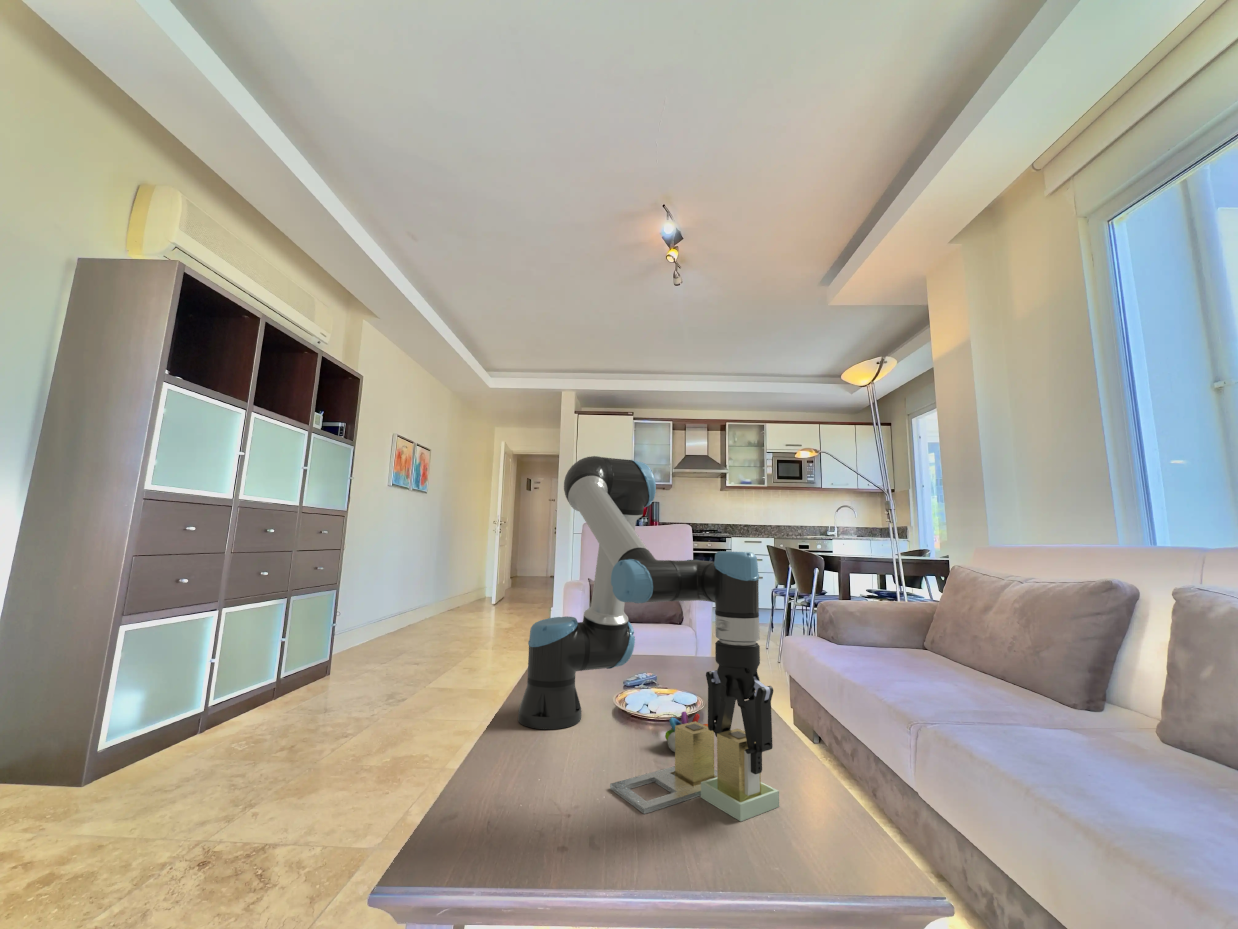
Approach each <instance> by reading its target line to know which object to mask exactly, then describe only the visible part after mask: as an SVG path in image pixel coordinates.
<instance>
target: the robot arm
mask: <svg viewBox="0 0 1238 929" xmlns="http://www.w3.org/2000/svg"><path fill="white" fill-rule="evenodd" d="M656 484H657V483H656V478H655V475H654V473H653V472H652V469H651V468H650V466H649V465H648V464H646V463H645V462H642V461H638V460H633V459H626V458H612V457H604V456H598V455H597V456H595V455H593V456H586V457H583V458H581V459H579V460H577V461H576V462H574V464H572V465H571V466H570V468H569V469H568V470H567V473H566V475H565V477H564V481H563V491H564V492H563V493H564V495H565V496H564V497H565V498H566V500H567V502H568V503H569V505H570V507H571V508H572V509H573V510H575V511H576V512H579V513H580V515H581V516H582V518H583V520H584V522H585V524H587V526H588V527H589V529H590V531H591V533H592V534H593V536H594V537H595V539H596V541H597V543H598V552H597V558H596V566H595V572H594V573H595V575H594V580H593V589H592V597H591V602H590V603H591V604H590V606H589V607H588V608H587V609H586V610H585V611H584V612H583V620H582V621H581V622H579V621H578V620H577V618H576V617H575V616H554V617H549V618H545V619H540V620H538V621H536V622H535V623H533V624H532V626H531V627H530V631H529V639H528V642H527V644H528V645H527V646H528V659H527V660H528V663H527V681H526V688H525V691H524V695H523V697H522V700H521V702H520V705H519V708H518V715H517V717H518V718H517V719H518V723H519V724H520V725H522V726H524V727H528V728H530V729H531V728H532V729H536V730H556V729H557V730H558V729H559V730H560V729H564V728H570V727H572V726H575V725H577V724H578V723H580V722H581V721H582V706H581V702H580V699H579V696H578V692H577V687H576V672H583V671H593V670H602V669H607V670H608V669H614V668H618V667H622V666H624V665H625V664H626V663H628V661H629V660H630V659H631V658H632V656H633V652H634V649H635V643H636V642H635V641H636V639H635V637H636V636H635V635H634V634H635V630H634V627H633V625H632V624H631V622H630V621H629V617H628V615H627V614H626V612H625V604H626V603H634V604H644V603H646V604H647V603H660V602H661V603H663V602H664V603H665V602H687V601H689V602H690V601H691V602H692V601H693V602H694V601H700V602H701V601H703V602H710V603H714V605H715V609H714V614H715V621H714V622H715V625H714V626H715V638H716V639H717V641H716V642H715V650H714V651H715V662H716V663H717V665H718V666H717V670H711V671H706V673H705V678H706V682H707V724H708V729H709V730H710V731H713V732H714V736H715V737H716V738H717V733H721V732H725V731H729V730H732V723H733V719H734V718H733V717H734V713H735V708H736V707H735V706H736V704H737V706H738V707H739V708H740V711H741V718H742V723H743V729H744V731H745V735H746V740H747V745H748V749H745V751H744V774H745V794H746V795H748V796H749V795H752V794H755V793H758V792H760V774H759V773H762V771H763V752H767V751H771V750H772V749H773V724H772V723H773V722H772V721H773V720H772V699H773V695H774V688H773V686H772V685H765V684H764V683H762V682H761V680H760V677H759V674H758V668H759V666H760V664H761V653H760V652H761V648H760V647H761V646H760V644H759V643H758V642H759V640H760V637H761V636H760V613H759V611H760V607H759V606H760V605H759V604H760V602H759V599H760V598H759V582H760V581H759V579H760V574H759V568H758V567H759V566H758V557H757V555H756V554H755V553H754V552H751V551H732V550H730V551H727V550H726V551H725V550H724V551H723V550H722V551H721V550H720V551H717V552H715V554H714V561H709V560H700V559H687V560H669V559H667V560H666V559H665V560H663V559H661V560H660V559H656V558H655V557H654V555H653V554H652V553H651V551H650V550H649V549H648V547H647V546H646V545H645V543H644V542H643V540H642V539H641V537H640V536H639V535H638V534H637V532H636V526H637V525H636V524H637V521H638V520H639V519H640V518H641V517H643V515H644V509H645V508H647V507H649V506H650V505H652V503H653V501H654V500H655V497H656V493H657V492H656V490H657V488H656V487H657V486H656ZM755 742H756V743H755Z"/></svg>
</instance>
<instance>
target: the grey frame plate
mask: <svg viewBox="0 0 1238 929" xmlns="http://www.w3.org/2000/svg"><path fill="white" fill-rule="evenodd" d="M716 777H717V770H716V769H715V768H714V778H716ZM651 783H652V784H653V783H655V784H656V785H658V786H659V787H661V788H662V789H664V790H666V791H668V792H669V793H668V794H665V795H662V796H658V797H654V798H652V799H648V800H646V799H644V798H643V797H642V796H640V795H639V794H637V793H636V792H635V791H633V790H632V789H635V788H639V787H641V786H644V785H649V784H651ZM609 790H611V791H612V792H614V793H615V794H616V795H618V796H619V797H621V798H622V799H623V800H625V801H626V802H627V803H629V804H630V806H632V807H634V808H635V809H637V810H638V811H639V812H640V813H642V814H643V815H647V814H649V813H653V812H655V811H658V810H662V809H665V808H667V807H671V806H674V805H676V804H680V803H683V802H685V801H686V802H687V801H689V800H692V799H694V798H698V797H701V784H700V785H697V786H691V785H690V784H688V783H686V782H684V781H683V780H681V779H679V778H678V777H676V776H675V765H674V766H669V767H666V768H663V769H660V770H659V769H658V770H655V771H652V772H648V773H645V774H644V773H643V774H641V775H637V776H634V777H631V778H625V779H623V780H619V781H616V782H612V783H610V784H609Z"/></svg>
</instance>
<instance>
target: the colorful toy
mask: <svg viewBox="0 0 1238 929" xmlns="http://www.w3.org/2000/svg"><path fill="white" fill-rule="evenodd" d="M700 717H701V716H700V714H699V713H695V714H694V716H693V718H692V720H691V722H695V721H696V722H698V723H699V719H700ZM680 718H681V722H680V721H679V719H677V718H676V717H670V718H669V725H670V726H671V728H670V730H667V731H666V732H665V735H664V737H665V739H666V740H667V746H668V748H669V749H670V751H671V752H673V753H675V726H677V725H681V724H686V723H690V722H689V717H688V713H687V711H682V712H681V716H680ZM703 725H705V726H707V727H708V723H703Z"/></svg>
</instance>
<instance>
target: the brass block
mask: <svg viewBox="0 0 1238 929" xmlns="http://www.w3.org/2000/svg"><path fill="white" fill-rule="evenodd" d="M755 743H756V742H755ZM745 749H748V745H747V740H746V735H745V730H743V729H741V728H733V729H730V730H729V731H725V732H721V733H717V737H716V755H717V756H716V757H717V758H716V760H717V762H716V764H717V765H716V766H717V768H716V769H717V786H718V790H719V791H721V792H723V793H724V794H726V795H728V796H730V797H731V798H733V799H735V800H737V801H739V802H743V801H746V800H749V799H752V798H754V797H757V796H760V795H761V782H762V779H761V778H762V776H761V773H762V772H761V773H759V774H760V792H758V793H755V794H752V795H749V796H748V795H746V794H745V774H744V751H745Z"/></svg>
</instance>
